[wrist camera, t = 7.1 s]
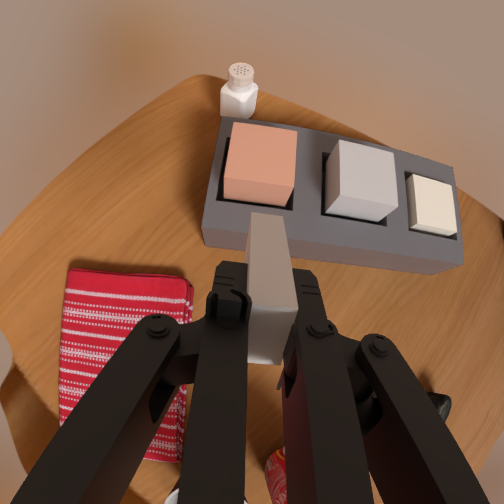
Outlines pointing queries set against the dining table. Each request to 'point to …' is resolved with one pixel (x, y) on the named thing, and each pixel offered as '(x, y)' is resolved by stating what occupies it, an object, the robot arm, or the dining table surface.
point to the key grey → (360, 182)
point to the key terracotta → (260, 164)
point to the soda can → (276, 476)
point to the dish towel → (118, 337)
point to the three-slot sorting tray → (328, 225)
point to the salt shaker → (239, 92)
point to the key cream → (430, 207)
